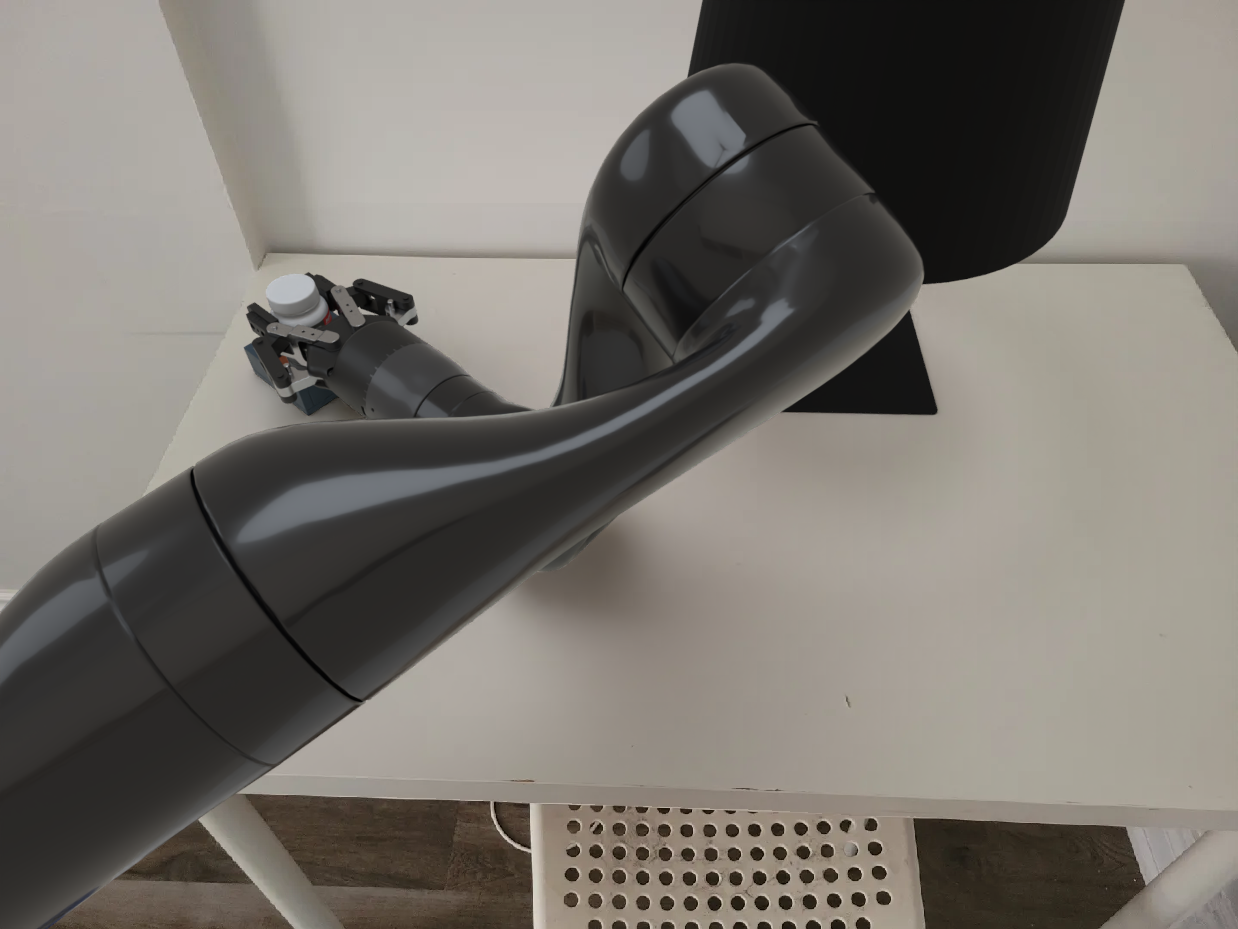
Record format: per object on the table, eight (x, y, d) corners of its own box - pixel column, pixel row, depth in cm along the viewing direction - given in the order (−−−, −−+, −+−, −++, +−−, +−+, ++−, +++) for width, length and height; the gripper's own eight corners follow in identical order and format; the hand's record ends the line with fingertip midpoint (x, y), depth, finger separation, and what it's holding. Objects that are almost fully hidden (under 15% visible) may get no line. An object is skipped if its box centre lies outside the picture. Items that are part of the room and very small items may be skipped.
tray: (308, 416, 75) (298, 390, 73) (254, 372, 79) (242, 347, 76) (382, 367, 79) (375, 341, 77) (328, 327, 83) (319, 302, 80)
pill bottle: (352, 369, 78) (327, 294, 71) (300, 388, 76) (270, 313, 70) (335, 339, 81) (310, 263, 74) (284, 357, 79) (254, 281, 73)
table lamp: (923, 296, 85) (1090, -211, 55) (994, 532, 67) (1302, -30, 37) (660, 292, 86) (681, -212, 55) (660, 524, 68) (691, -35, 37)
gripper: (470, 305, 68) (337, 222, 76) (318, 405, 61) (187, 303, 69) (483, 375, 74) (357, 292, 81) (345, 474, 67) (221, 373, 74)
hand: (280, 297), depth 75 cm, fingers closed on pill bottle, 4 cm apart
